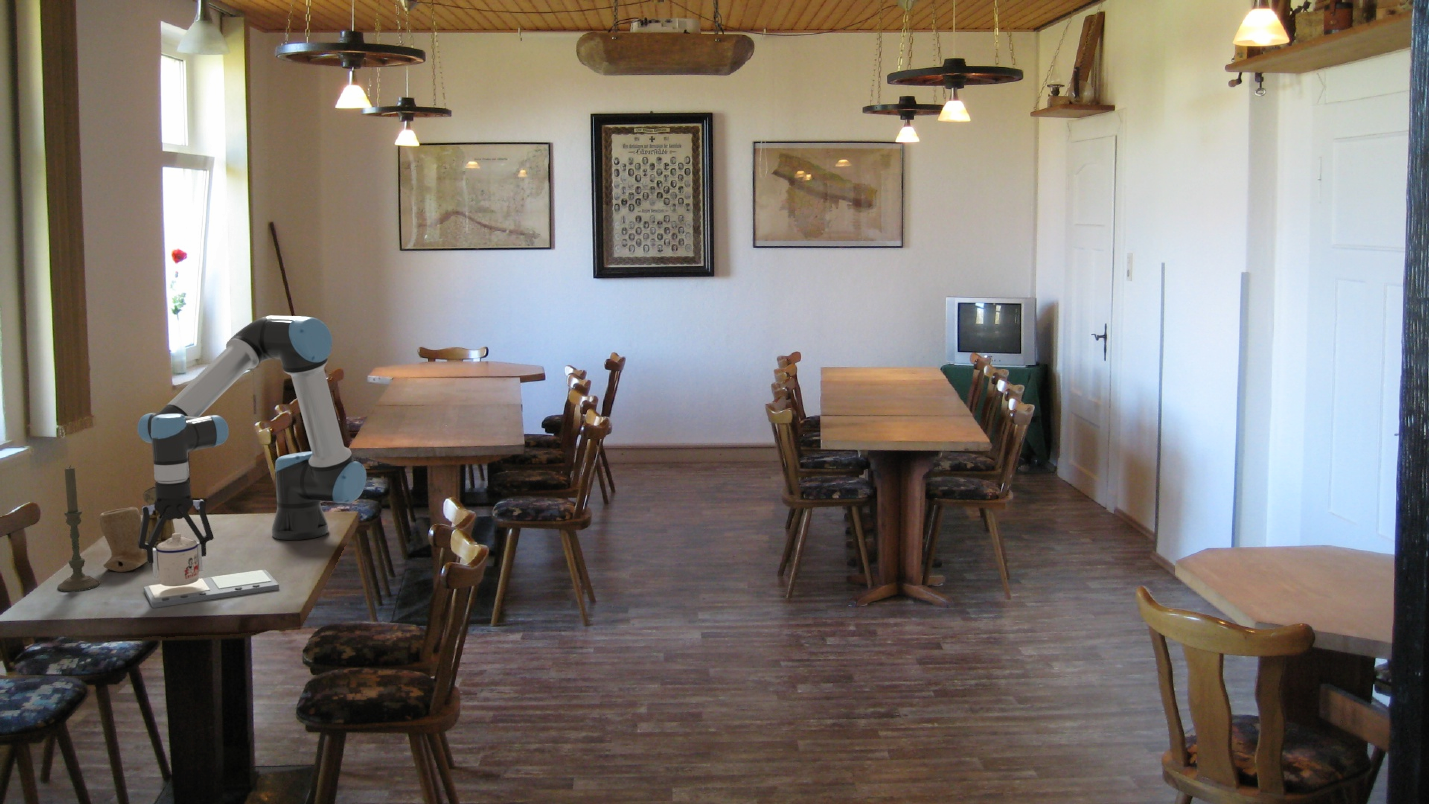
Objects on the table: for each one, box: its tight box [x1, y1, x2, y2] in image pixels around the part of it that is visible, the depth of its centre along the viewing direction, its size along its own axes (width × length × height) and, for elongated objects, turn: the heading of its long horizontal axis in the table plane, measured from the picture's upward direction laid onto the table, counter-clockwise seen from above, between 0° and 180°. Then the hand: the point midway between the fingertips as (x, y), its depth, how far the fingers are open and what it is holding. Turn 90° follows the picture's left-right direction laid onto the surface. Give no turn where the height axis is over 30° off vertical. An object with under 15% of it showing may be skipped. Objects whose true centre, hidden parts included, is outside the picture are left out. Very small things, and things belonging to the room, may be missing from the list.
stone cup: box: [99, 506, 148, 573], centre depth 316 cm, size 15×12×15 cm
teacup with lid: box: [155, 532, 200, 586], centre depth 292 cm, size 12×9×12 cm
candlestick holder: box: [57, 464, 100, 592], centre depth 297 cm, size 9×9×30 cm
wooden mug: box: [142, 486, 176, 549], centre depth 335 cm, size 9×14×18 cm, turn 20°
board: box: [143, 569, 280, 609], centre depth 296 cm, size 28×15×1 cm, turn 121°
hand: (178, 572), depth 293 cm, fingers closed on teacup with lid, 9 cm apart
